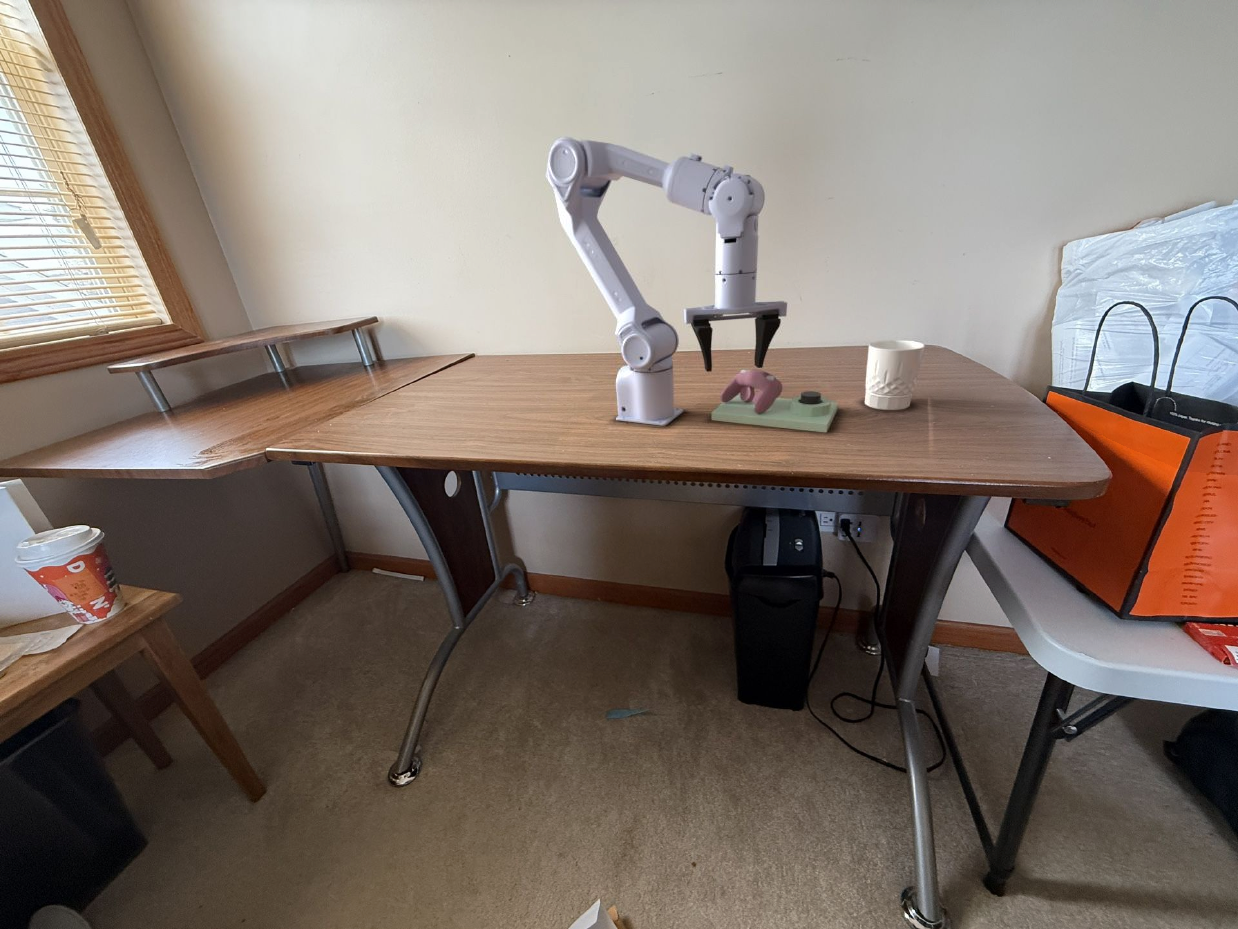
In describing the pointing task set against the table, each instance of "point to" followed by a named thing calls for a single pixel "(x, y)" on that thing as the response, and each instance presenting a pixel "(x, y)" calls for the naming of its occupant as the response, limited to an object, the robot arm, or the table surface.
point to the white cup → (892, 373)
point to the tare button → (810, 398)
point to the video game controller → (746, 385)
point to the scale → (779, 414)
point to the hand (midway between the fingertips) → (733, 368)
